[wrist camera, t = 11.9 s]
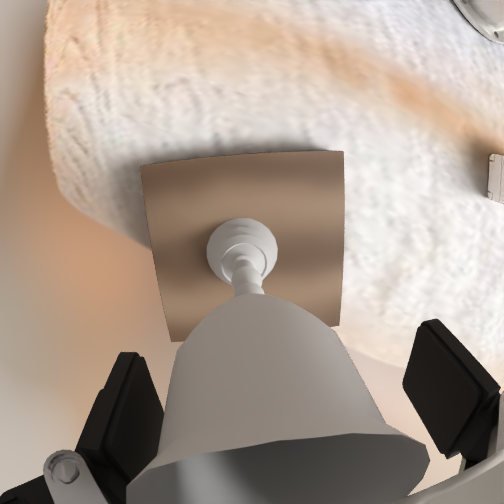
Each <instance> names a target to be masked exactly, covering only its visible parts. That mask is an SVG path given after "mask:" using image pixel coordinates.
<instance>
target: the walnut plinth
mask: <svg viewBox="0 0 504 504" xmlns="http://www.w3.org/2000/svg"><path fill="white" fill-rule="evenodd" d="M140 167H141V177H142V185H143V193H144V201H145V208H146V215H147V222H148V229H149V235H150V241H151V247H152V253H153V258H154V264H155V269H156V275H157V280H158V285H159V289H160V295H161V299H162V304H163V309H164V313H165V317H166V321H167V326H168V330H169V334H170V339H171V342H181V341H185V340H186V338H187V337H188V336H189V334H190V333H191V332H192V331H193V329H194V328H195V327H196V326H197V325H198V324H199V323H200V322H201V321H202V320H203V319H204V318H205V317H206V316H207V315H208V314H209V313H210V312H211V311H212V310H214V309H215V308H217V307H219V306H220V305H222V304H223V303H225V302H227V301H228V300H230V299H233V298H234V292H235V290H234V289H233V287H232V285H230V284H229V283H227V282H225V281H223V280H222V279H220V278H219V277H218V276H216V274H215V273H214V272H213V270H212V269H211V268H210V265H209V262H208V259H207V245H208V242H209V239H210V236H211V235H212V234H213V232H214V231H215V230H216V228H217V227H219V226H220V225H222V224H223V223H225V222H226V221H229V220H232V219H236V218H250V219H253V220H256V221H258V222H261V223H262V224H263V225H264V226H266V227H267V228H268V229H269V230H270V231H271V233H272V234H273V236H274V237H275V240H276V244H277V248H278V251H277V260H276V262H275V265H274V267H273V269H272V270H271V271H270V273H269V274H268V275H267V276H266V277H265V278H264V279H263V280H262V286H261V288H262V289H263V291H264V294H266V295H272V296H275V297H278V298H281V299H284V300H287V301H290V302H292V303H294V304H296V305H297V306H299V307H301V308H302V309H304V310H306V311H308V312H309V313H311V314H313V315H314V316H316V317H317V318H318V319H320V320H321V321H322V322H324V323H325V324H326V325H327V326H329V327H333V326H339V322H340V310H341V296H342V279H343V257H344V211H345V197H344V152H343V151H288V152H267V153H250V154H237V155H225V156H214V157H204V158H194V159H186V160H177V161H170V162H162V163H155V164H149V165H144V166H140Z"/></svg>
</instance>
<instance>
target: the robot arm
mask: <svg viewBox="0 0 504 504" xmlns="http://www.w3.org/2000/svg"><path fill="white" fill-rule="evenodd" d="M453 1H454V2H455V4H456V5H457V7H458V8H459V10H460V11H461V12H462V13H463V15H464V16H465V17H466V19H467V20H468V21H469V22H470V23H471V24H472V25H473V26H474V27H475V28H476V29H477V30H478V31H479V32H480V33H481V34H483V35H484V36H485V37H486V38H488V39H489V40H491V41H493V42H495V43H498V44H504V0H453ZM402 383H403V384H402V385H403V389H404V391H405V393H406V394H407V396H408V397H409V399H410V401H411V402H412V404H413V406H414V408H415V409H416V411H417V413H418V415H419V416H420V418H421V420H422V422H423V423H424V425H425V427H426V429H427V430H428V432H429V434H430V436H431V438H432V439H433V441H434V443H435V445H436V447H437V448H438V450H439V452H440V453H441V454H444V455H445V457H446V459H449V458H451V457H453V456H455V455H457V454H459V453H461V455H462V461H461V465H460V469H459V473H458V474H457V475H455V476H453V477H451V478H449V479H447V480H445V481H442V482H440V483H438V484H436V485H434V486H431V487H429V488H427V489H424V490H422V491H420V492H417V493H414V494H412V495H409V496H407V497H404V498H401V499H398V500H396V501H393V502H390V503H387V504H504V391H503V393H502V394H500V393H499V390H500V388H501V387H500V386H499V385H498V383H497V382H496V381H495V380H494V379H493V378H492V376H491V375H490V374H489V373H488V372H487V371H486V370H485V368H484V367H483V366H482V365H481V364H480V363H479V362H478V361H477V360H476V358H475V357H474V356H473V355H472V354H471V353H470V352H469V351H468V350H467V349H466V348H465V346H464V345H463V344H462V343H461V342H460V341H459V340H458V339H457V338H456V337H455V336H454V335H453V334H452V333H451V332H450V331H449V330H448V329H447V328H446V327H445V325H444V324H443V323H442V322H441V321H440V320H438V319H432V320H428V321H424V322H422V323H421V325H420V327H418V329H417V332H416V336H415V340H414V344H413V348H412V351H411V355H410V358H409V362H408V365H407V368H406V372H405V375H404V378H403V382H402ZM163 417H164V411H163V408H162V405H161V403H160V400H159V397H158V395H157V392H156V389H155V387H154V384H153V381H152V379H151V376H150V373H149V370H148V367H147V364H146V361H145V359H144V357H140V356H139V354H138V353H137V352H121V353H120V354H119V355H118V357H117V360H116V362H115V364H114V366H113V368H112V371H111V373H110V375H109V377H108V380H107V382H106V384H105V386H104V389H102V390H100V391H99V393H98V395H97V397H96V400H95V402H94V404H93V407H92V409H91V411H90V414H89V416H88V419H87V421H86V423H85V426H84V429H83V431H82V433H81V436H80V438H79V441H78V444H77V446H76V449H75V451H71V450H60V451H56V452H55V453H53V454H51V455H50V456H49V458H47V460H46V462H45V463H44V468H43V472H44V475H42V476H39V477H37V478H35V479H33V480H31V481H28V482H26V483H24V484H22V485H19V486H17V487H14V488H12V489H10V490H7V491H6V492H4V493H3V494H2V495H1V496H0V504H126V486H128V485H129V484H130V483H131V482H132V481H133V480H134V479H135V478H136V477H137V476H138V475H139V474H140V473H141V472H142V471H143V470H144V469H145V467H146V466H147V465H148V464H149V463H150V462H151V461H152V460H153V459H154V458H155V457H156V456H157V453H158V447H159V441H160V435H161V429H162V423H163Z"/></svg>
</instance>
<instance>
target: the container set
mask: <svg viewBox="0 0 504 504" xmlns="http://www.w3.org/2000/svg"><path fill="white" fill-rule="evenodd" d="M490 160H492V161H489V181H488V191H490V192H491V193H490V192H488V194H487V195H488V197H489V199H490V200H492V201H496V202H499V203H502V204H504V155H498V154H492V155H491V156H490Z"/></svg>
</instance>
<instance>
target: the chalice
mask: <svg viewBox="0 0 504 504" xmlns="http://www.w3.org/2000/svg"><path fill="white" fill-rule="evenodd" d="M277 251H278V248H277V244H276V240H275V237H274V236H273V234H272V233H271V231H270V230H269V229H268V228H267V227H266V226H264V225H263V224H262V223H261V222H258V221H256V220H253V219H250V218H236V219H232V220H229V221H226V222H225V223H223V224H222V225H220V226H219V227H217V228H216V230H215V231H214V232H213V234H212V235H211V236H210V239H209V242H208V245H207V259H208V262H209V265H210V268H211V269H212V270H213V272H214V273H215V274H216V276H218V277H219V278H220V279H222V280H223V281H225V282H227V283H229V284H230V285H232V287H233V289H234V290H235V292H234V298H233V299H230V300H228V301H227V302H225V303H223V304H222V305H220V306H219V307H217V308H215V309H214V310H212V311H211V312H210V313H209V314H208V315H207V316H206V317H205V318H204V319H203V320H202V321H201V322H200V323H199V324H198V325H197V326H196V327H195V328H194V329H193V331H192V332H191V333H190V334H189V336H188V337H187V338H186V340H185V341H184V342H183V344H182V345H181V346H180V347H179V349H178V350H177V353H176V357H175V361H174V365H173V370H172V374H171V379H170V384H169V390H168V395H167V401H166V406H165V412H164V417H163V423H162V429H161V435H160V441H159V447H158V454H157V456H156V457H155V458H154V459H153V460H152V461H151V462H150V463H149V464H148V465H147V466H146V467H145V469H144V470H143V471H142V472H141V473H140V474H139V475H138V476H137V477H136V478H135V479H134V480H133V481H132V482H131V483H130V484H129V485H128V486H126V504H387V503H390V502H393V501H396V500H398V499H401V498H404V497H407V496H408V494H409V493H410V492H411V491H412V490H413V489H414V488H415V487H416V486H417V484H418V483H419V482H420V481H421V480H422V479H423V477H424V475H425V472H426V470H427V467H428V465H429V462H430V458H429V455H428V452H427V449H426V446H425V445H424V444H423V443H420V442H419V441H417V440H415V439H413V438H411V437H409V436H407V435H405V434H404V433H402V432H400V431H398V430H396V429H395V428H393V427H391V426H389V425H387V424H386V422H385V420H384V418H383V417H382V415H381V413H380V411H379V409H378V407H377V405H376V404H375V402H374V400H373V398H372V396H371V394H370V392H369V390H368V389H367V387H366V385H365V383H364V381H363V379H362V378H361V376H360V374H359V372H358V370H357V369H356V367H355V365H354V363H353V361H352V359H351V358H350V356H349V354H348V352H347V350H346V349H345V347H344V345H343V344H342V342H341V340H340V338H339V337H338V335H337V333H336V332H335V331H334V330H333V329H331V328H330V327H329V326H327V325H326V324H325V323H324V322H322V321H321V320H320V319H318V318H317V317H316V316H314V315H313V314H311V313H309V312H308V311H306V310H304V309H302V308H301V307H299V306H297V305H296V304H294V303H292V302H290V301H287V300H284V299H281V298H278V297H275V296H272V295H266V294H264V291H263V289H262V288H261V286H262V280H263V279H264V278H265V277H266V276H267V275H268V274H269V273H270V271H271V270H272V269H273V267H274V265H275V262H276V260H277Z"/></svg>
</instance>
